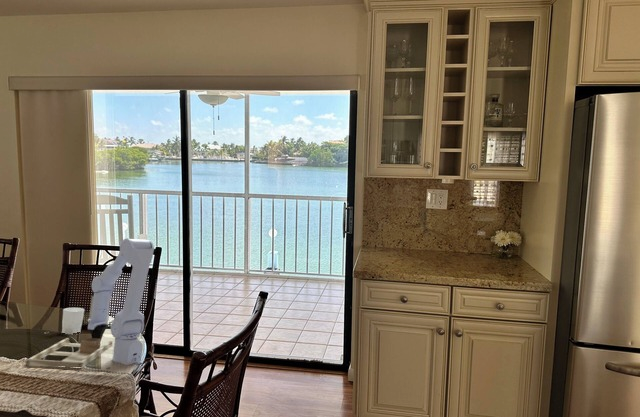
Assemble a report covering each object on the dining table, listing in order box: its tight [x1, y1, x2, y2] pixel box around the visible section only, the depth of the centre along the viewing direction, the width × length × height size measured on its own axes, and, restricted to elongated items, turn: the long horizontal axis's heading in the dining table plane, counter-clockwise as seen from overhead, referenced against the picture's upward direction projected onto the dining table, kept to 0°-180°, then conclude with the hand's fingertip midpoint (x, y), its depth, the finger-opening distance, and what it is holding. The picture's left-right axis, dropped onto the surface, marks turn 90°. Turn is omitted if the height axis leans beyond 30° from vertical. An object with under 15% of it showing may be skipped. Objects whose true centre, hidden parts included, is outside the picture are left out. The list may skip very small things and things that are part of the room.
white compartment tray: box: [25, 337, 113, 368], centre depth 153 cm, size 27×17×3 cm, turn 6°
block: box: [79, 337, 102, 353], centre depth 159 cm, size 5×5×4 cm
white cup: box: [61, 307, 85, 335], centre depth 183 cm, size 8×8×10 cm
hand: (96, 344), depth 165 cm, fingers closed
